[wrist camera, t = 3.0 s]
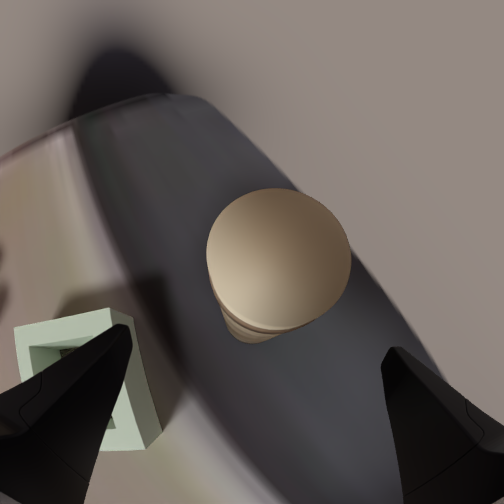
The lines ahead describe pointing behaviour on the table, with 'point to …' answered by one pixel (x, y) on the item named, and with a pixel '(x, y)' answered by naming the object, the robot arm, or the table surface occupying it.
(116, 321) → the square frame
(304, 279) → the beige cylinder
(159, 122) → the table surface
